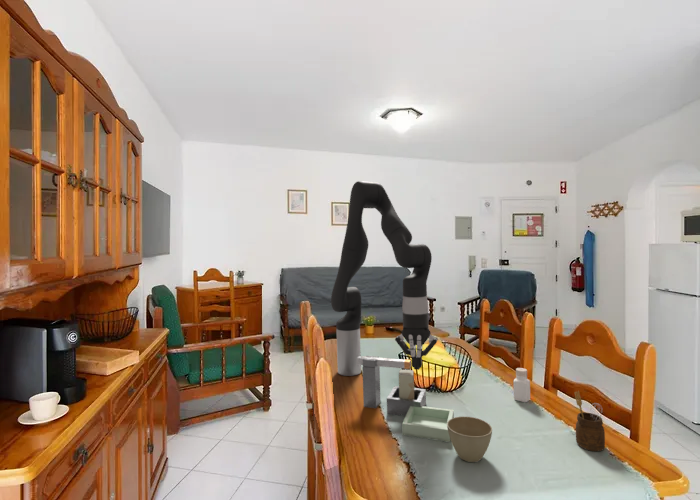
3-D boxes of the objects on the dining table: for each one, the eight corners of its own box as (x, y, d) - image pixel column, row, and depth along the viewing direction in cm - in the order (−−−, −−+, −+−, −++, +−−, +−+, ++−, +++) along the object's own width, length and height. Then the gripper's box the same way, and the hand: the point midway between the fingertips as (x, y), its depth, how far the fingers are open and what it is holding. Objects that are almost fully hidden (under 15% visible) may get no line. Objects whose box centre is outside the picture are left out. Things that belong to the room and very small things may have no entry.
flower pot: (487, 473, 82) (486, 440, 81) (442, 460, 87) (441, 429, 87) (496, 451, 90) (496, 421, 90) (455, 441, 95) (454, 412, 95)
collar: (394, 400, 121) (394, 386, 121) (426, 403, 118) (425, 389, 118) (387, 413, 112) (386, 398, 112) (420, 417, 108) (420, 402, 108)
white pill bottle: (530, 399, 119) (530, 369, 118) (526, 403, 116) (525, 372, 115) (517, 396, 121) (517, 366, 121) (513, 400, 118) (512, 369, 118)
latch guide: (368, 400, 121) (367, 355, 121) (380, 401, 120) (379, 356, 120) (363, 406, 117) (362, 359, 116) (376, 408, 115) (374, 361, 115)
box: (414, 412, 112) (413, 375, 111) (399, 412, 113) (398, 374, 112) (414, 405, 117) (413, 369, 117) (400, 404, 118) (399, 369, 117)
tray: (411, 415, 110) (410, 404, 110) (453, 420, 106) (453, 409, 106) (402, 435, 99) (402, 423, 99) (449, 442, 95) (449, 430, 95)
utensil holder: (594, 454, 87) (593, 403, 87) (569, 442, 93) (568, 393, 93) (610, 448, 90) (610, 398, 90) (585, 436, 96) (584, 389, 95)
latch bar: (359, 362, 121) (359, 355, 121) (411, 366, 115) (411, 359, 115) (357, 364, 119) (357, 358, 118) (409, 369, 113) (409, 362, 113)
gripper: (439, 309, 114) (440, 366, 115) (396, 308, 119) (397, 363, 119) (436, 314, 107) (438, 374, 108) (390, 312, 112) (392, 371, 112)
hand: (416, 368), depth 114 cm, fingers closed
